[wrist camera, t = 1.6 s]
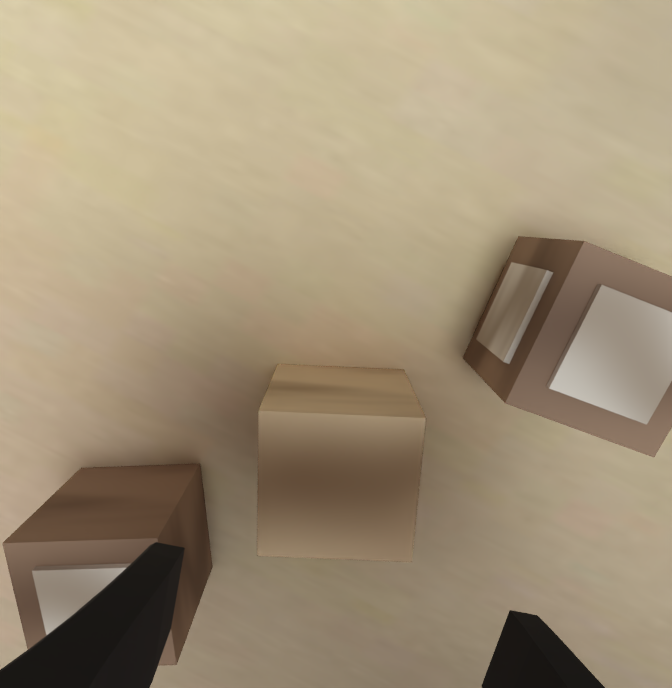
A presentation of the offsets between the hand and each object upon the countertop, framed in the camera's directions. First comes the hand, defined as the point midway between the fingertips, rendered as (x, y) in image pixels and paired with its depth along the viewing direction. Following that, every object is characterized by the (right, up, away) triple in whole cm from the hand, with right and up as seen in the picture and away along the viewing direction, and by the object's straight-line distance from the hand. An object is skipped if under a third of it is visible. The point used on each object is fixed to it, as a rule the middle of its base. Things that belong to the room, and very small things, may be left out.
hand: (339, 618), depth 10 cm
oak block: (0, +2, +10) cm, 10 cm away
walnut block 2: (+8, +7, +9) cm, 14 cm away
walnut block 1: (-8, -2, +11) cm, 14 cm away
